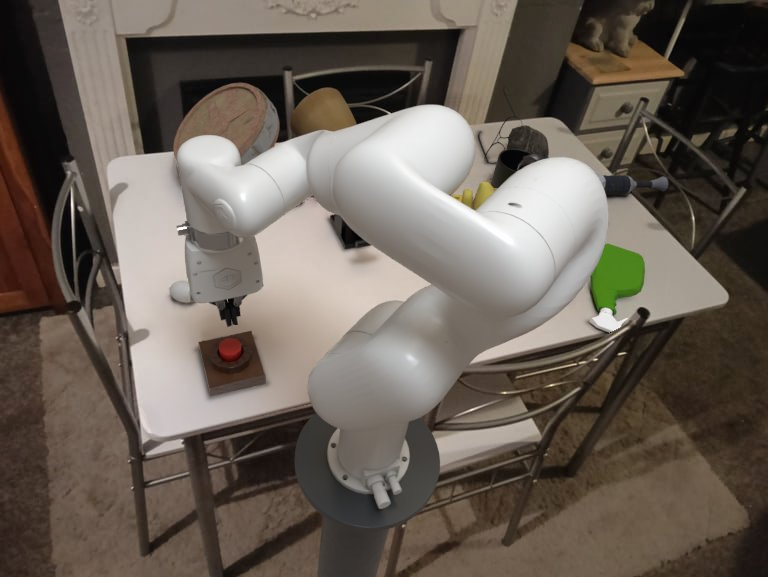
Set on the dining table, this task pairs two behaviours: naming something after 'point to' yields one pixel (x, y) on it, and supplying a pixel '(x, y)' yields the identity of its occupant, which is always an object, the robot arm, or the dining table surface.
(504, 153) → the mug
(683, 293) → the dining table surface
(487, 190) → the figurine
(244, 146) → the landmine
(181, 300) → the egg
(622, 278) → the spray bottle
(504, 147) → the glasses
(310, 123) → the plant pot
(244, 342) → the button block
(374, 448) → the robot arm
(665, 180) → the toy gun
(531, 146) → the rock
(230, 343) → the button
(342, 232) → the bracket
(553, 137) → the dining table surface
